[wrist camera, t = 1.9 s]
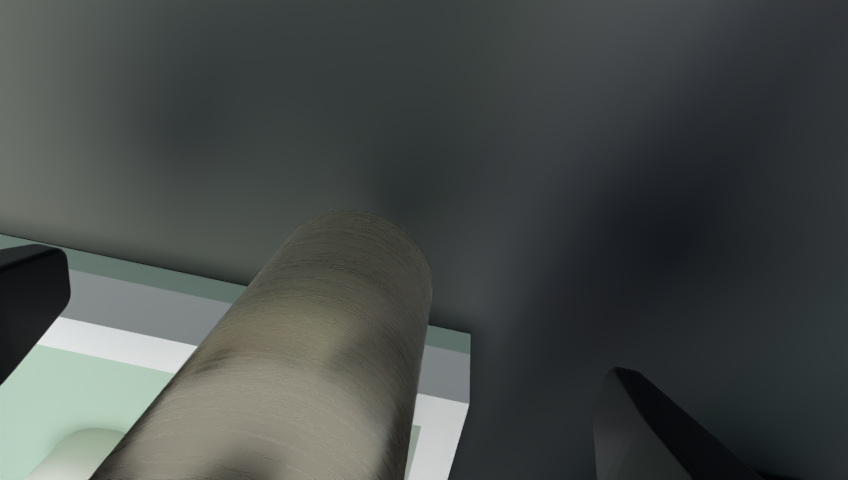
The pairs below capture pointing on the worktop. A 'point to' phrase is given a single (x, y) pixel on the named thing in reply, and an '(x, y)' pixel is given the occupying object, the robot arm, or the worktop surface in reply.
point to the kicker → (298, 368)
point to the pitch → (171, 363)
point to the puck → (77, 455)
